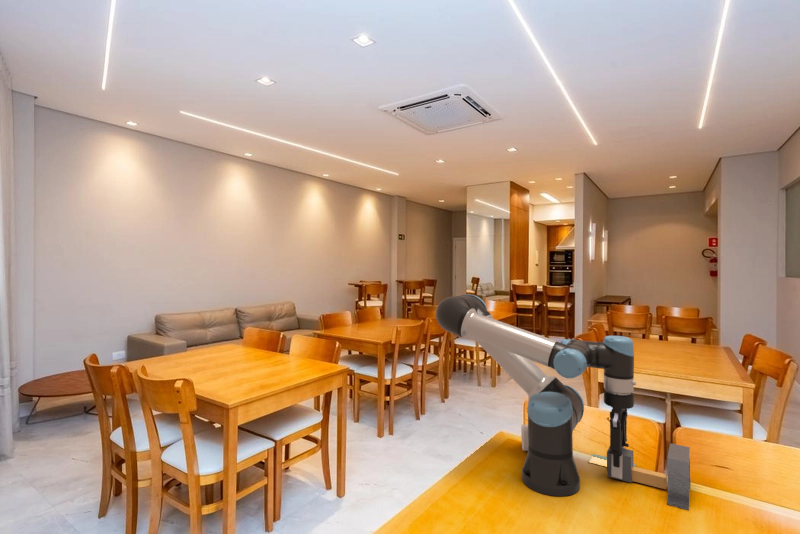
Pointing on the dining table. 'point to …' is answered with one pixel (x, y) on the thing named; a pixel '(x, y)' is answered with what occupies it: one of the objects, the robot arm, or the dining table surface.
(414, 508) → the dining table surface
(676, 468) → the housing
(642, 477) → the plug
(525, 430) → the mug
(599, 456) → the pad
